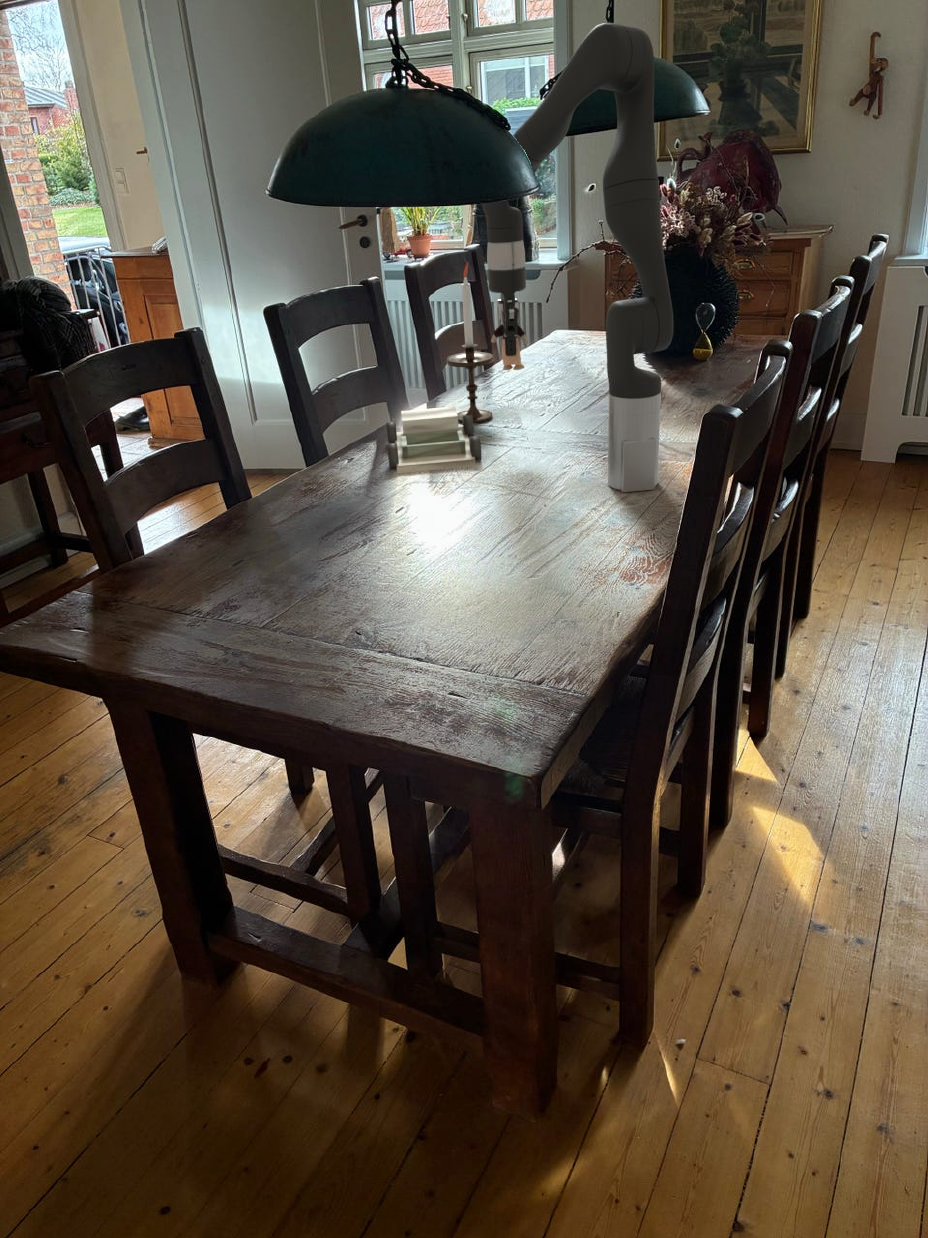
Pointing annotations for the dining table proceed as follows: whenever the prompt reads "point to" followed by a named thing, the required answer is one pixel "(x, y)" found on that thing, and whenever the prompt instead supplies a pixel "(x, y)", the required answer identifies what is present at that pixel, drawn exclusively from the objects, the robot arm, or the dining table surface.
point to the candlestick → (470, 359)
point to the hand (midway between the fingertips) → (509, 352)
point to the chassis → (432, 441)
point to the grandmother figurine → (516, 359)
